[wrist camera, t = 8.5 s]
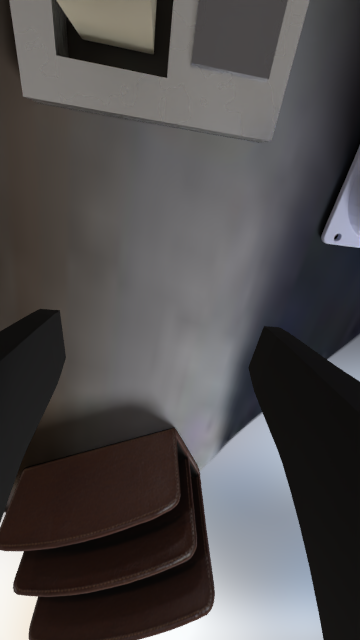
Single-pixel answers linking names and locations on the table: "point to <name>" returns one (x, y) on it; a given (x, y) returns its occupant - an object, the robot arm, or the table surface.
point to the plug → (114, 22)
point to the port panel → (173, 67)
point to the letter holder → (112, 541)
